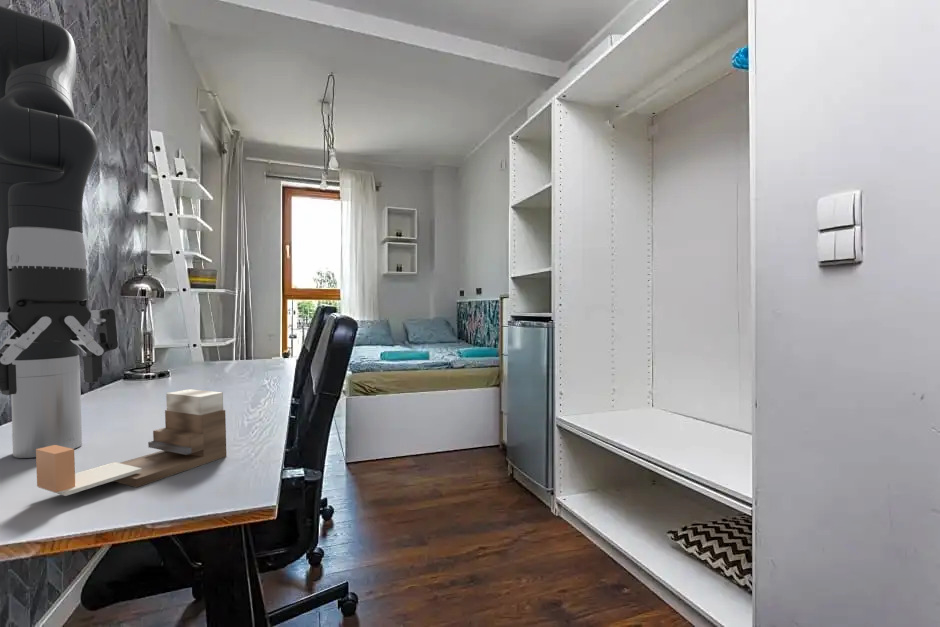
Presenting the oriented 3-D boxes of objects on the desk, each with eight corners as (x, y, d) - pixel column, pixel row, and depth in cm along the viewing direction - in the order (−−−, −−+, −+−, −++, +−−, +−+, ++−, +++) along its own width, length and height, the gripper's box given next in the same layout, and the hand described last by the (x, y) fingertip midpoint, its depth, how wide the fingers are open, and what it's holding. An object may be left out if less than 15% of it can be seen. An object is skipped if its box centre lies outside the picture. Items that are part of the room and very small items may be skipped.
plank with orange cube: (33, 488, 59) (32, 448, 59) (114, 465, 68) (113, 429, 68) (60, 497, 56) (59, 454, 56) (141, 471, 65) (140, 434, 65)
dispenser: (97, 477, 67) (95, 405, 67) (189, 449, 80) (187, 389, 80) (136, 487, 63) (134, 410, 63) (226, 456, 76) (224, 392, 75)
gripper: (97, 270, 66) (100, 377, 66) (-44, 262, 53) (-38, 396, 54) (126, 268, 63) (129, 380, 63) (-16, 260, 50) (-11, 401, 50)
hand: (52, 387), depth 58 cm, fingers open, 8 cm apart
